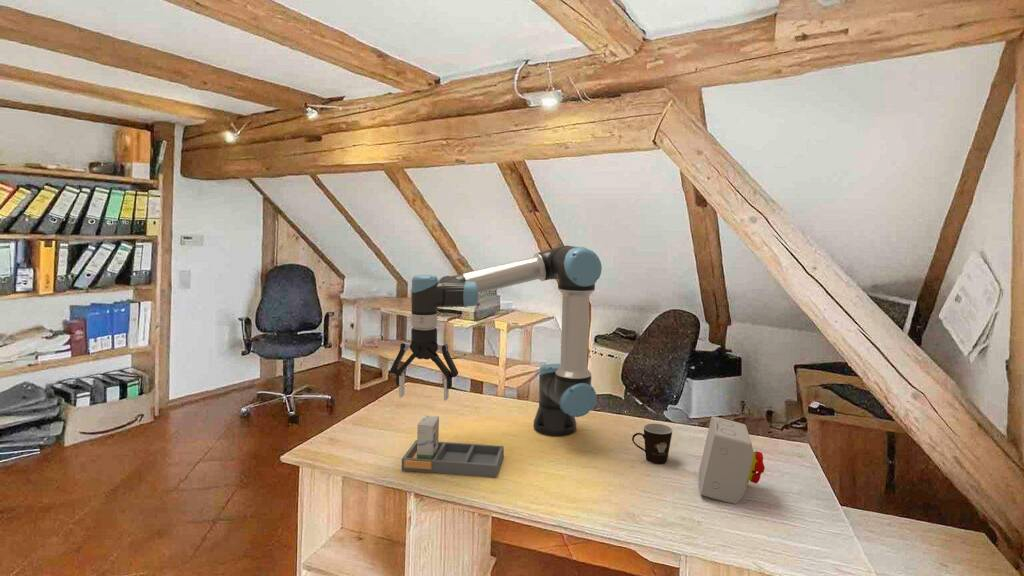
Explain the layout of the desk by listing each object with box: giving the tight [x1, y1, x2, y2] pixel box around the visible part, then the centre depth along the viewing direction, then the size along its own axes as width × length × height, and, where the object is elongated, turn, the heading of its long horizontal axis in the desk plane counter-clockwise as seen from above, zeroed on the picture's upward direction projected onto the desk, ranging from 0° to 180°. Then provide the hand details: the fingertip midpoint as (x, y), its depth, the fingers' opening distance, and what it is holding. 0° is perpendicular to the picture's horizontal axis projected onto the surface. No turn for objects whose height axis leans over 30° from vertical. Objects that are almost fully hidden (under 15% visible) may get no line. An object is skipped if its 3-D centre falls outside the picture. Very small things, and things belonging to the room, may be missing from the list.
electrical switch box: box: [698, 415, 766, 505], centre depth 151 cm, size 15×15×20 cm
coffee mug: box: [631, 422, 674, 465], centre depth 172 cm, size 12×9×10 cm
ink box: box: [416, 415, 440, 460], centre depth 167 cm, size 9×5×12 cm, turn 176°
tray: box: [401, 439, 505, 478], centre depth 167 cm, size 28×15×4 cm, turn 83°
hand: (423, 397), depth 166 cm, fingers open, 13 cm apart
